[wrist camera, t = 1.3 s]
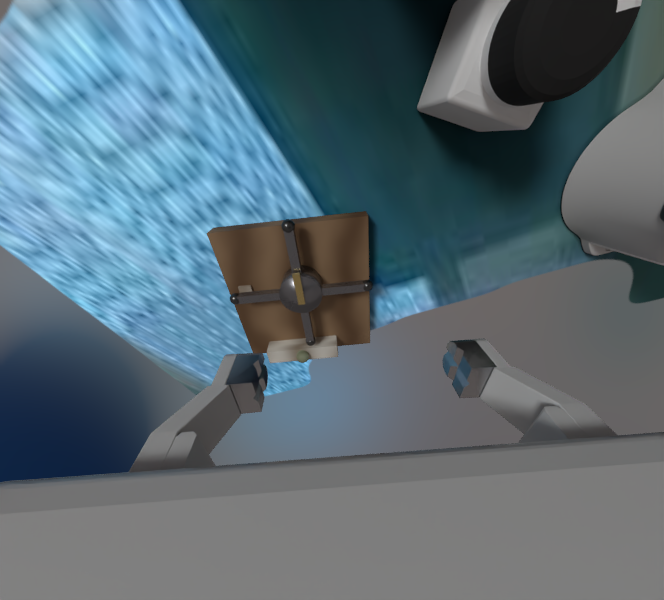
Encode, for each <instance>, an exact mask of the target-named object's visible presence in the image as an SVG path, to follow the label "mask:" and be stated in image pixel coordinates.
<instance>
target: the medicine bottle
mask: <svg viewBox="0 0 664 600" xmlns="http://www.w3.org/2000/svg"><path fill="white" fill-rule="evenodd" d="M641 2H642V0H457V1H456V2H455V3H454V5H453V6H452V9H451V12H450V15H449V17H448V20H447V23H446V26H445V29H444V32H443V34H442V37H441V40H440V43H439V46H438V49H437V52H436V54H435V57H434V60H433V63H432V66H431V69H430V72H429V74H428V77H427V80H426V83H425V86H424V89H423V92H422V94H421V97H420V100H419V103H418V106H417V109H418V111H420V112H423V113H425V114H428V115H431V116H434V117H437V118H440V119H443V120H446V121H448V122H451V123H454V124H457V125H460V126H463V127H466V128H469V129H472V130H474V131H477V132H485V131H505V130H525V129H527V128H529V127H530V125H531V124H532V122H533V120H534V119H535V117H536V115H537V113H538V111H539V110H540V108H541V106H542V104H543V103H544V102H549V101H555V100H559V99H562V98H565V97H567V96H570V95H572V94H574V93H575V92H577V91H579V90H580V89H582V88H583V87H585V86H586V85H587V84H588V83H590V82H591V81H592V80H593V79H594V78H595V77H596V76H597V75H598V74H599V73H600V72H601V71H602V70H603V69H604V68H605V67H606V66H607V65H608V63H609V62H610V61H611V60H612V58H613V57H614V56H615V54H616V53H617V51H618V50H619V49H620V47H621V46H622V44H623V42H624V41H625V39H626V38H627V36H628V34H629V32H630V30H631V28H632V26H633V24H634V22H635V19H636V17H637V14H638V11H639V9H640V6H641Z"/></svg>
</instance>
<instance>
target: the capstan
mask: <svg viewBox="0 0 664 600" xmlns="http://www.w3.org/2000/svg"><path fill="white" fill-rule="evenodd" d="M281 228H282V230H283V232H284V237H285V241H286V246H287V251H288V256H289V260H290V265H291V268H290V269H289V270H287V272H286V273H285V274H284V276H283V280H282V283H281V287H280V289H271V290H261V291H251V292H241V293H234V294H232V295H231V296H230V301H231V303H233V304H236V305H237V304H246V303H256V302H266V301H276V300H281V302H282V304H283V305H284V306H285V307H286V308H287V309H289V310H291V311H293V312H297V313H301V318H302V322H303V327H304V332H305V337H306V344H307V345H309V346H313V345H314V344H315V343H316V339H315V337H314V333H313V327H312V322H311V316H310V311H312V310H314V309H315V308H317V307H318V306H319V304H320V302H321V300H322V296H325V295H335V294H345V293H355V292H365V291H370V290H371V289H372V288H373V283H372V282H371V281H370V280H359V281H349V282H340V283H330V284H322V279H321V276H320V275H319V273H318V272H317V271H316V270H315V269H313V268H311V267H309V266H305V265H301V262H300V256H299V251H298V246H297V240H296V235H295V224H294V222H293V221H292V220H290V219H286V220H284V221H283V222H282V224H281Z"/></svg>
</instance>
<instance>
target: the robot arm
mask: <svg viewBox="0 0 664 600" xmlns="http://www.w3.org/2000/svg"><path fill="white" fill-rule="evenodd" d="M562 215H563V219H564V221H565V223H566V225H567V226H568V228H569V229H570V230H571V231H573V232H574V233H575V234H577V235H578V236H579V237H580V239H581V243H582V247H583V250H584V251H585V252H586V253H588V254H591V255H601V254H605V253H609V252H613V251H616V252H620V253H623V254H626V255H629V256H633V257H636V258H639V259H643V260H646V261H649V262H653V263H656V264H659V265H664V79H663V80H662V81H661V82H660V83H659V84H658V85H657V86H656V87H655V88H654V89H653V90H652V91H651V92H650V93H649V94H648V95H647V96H645V97H644V98H643V99H641V100H640V101H638V102H637V103H635V104H634V105H632V106H631V107H630V108H628V109H627V110H625V111H624V112H623V113H621V114H620V115H619V116H617V117H616V118H615V119H614V120H613V121H611V122H610V123H609V124H608V125H607V126H606V127H605V128H604V129H603V130H602V131H601V132H600V133H599V134H598V135H597V136H596V137H595V138H594V139H593V140H592V142H591V143H590V144H589V145H588V147H587V148H586V149H585V150H584V152H583V153H582V155H581V156H580V158H579V159H578V161H577V162H576V164H575V166H574V167H573V169H572V171H571V173H570V175H569V178H568V180H567V182H566V185H565V188H564V192H563V197H562ZM447 350H448V352H447V353H446V354H445V355H444V358H443V368H444V370H445V372H446V374H447V376H448V377H449V378H451V379H452V380H453V383H452V385H453V387H454V389H455V391H456V392H457V394H458V396H459V398H472V397H480V399H481V400H483V401H484V402H485V403H486V404H488V405H489V406H490V407H491V408H493V409H494V410H495V411H496V412H497V413H499V414H500V415H501V416H503V417H504V418H505V419H506V420H507V421H509V422H510V423H511V424H512V425H514V426H515V427H516V428H517V429H519V430H520V431H521V432H522V433H524V436H523V437H522V438H521V440H520V441H519V443H512V444H500V445H487V446H473V447H460V448H446V449H433V450H419V451H406V452H394V453H380V454H367V455H354V456H341V457H328V458H315V459H301V460H288V461H275V462H262V463H248V464H235V465H222V466H215V464H214V462H213V461H212V459H211V458H210V456H209V454H210V453H211V451H212V450H213V449H214V448H215V446H216V445H217V444H218V443H219V441H220V440H221V439H222V437H223V436H224V435H225V434H226V433H227V431H228V430H229V429H230V428H231V426H232V425H233V424H234V423H235V421H236V420H237V419H238V418H239V417H240V415H241V414H243V413H253V412H261V411H262V407H263V402H264V394H263V391H264V390H265V389H266V387H267V380H268V374H267V368H266V366H265V365H264V364H263V363H264V356H263V354H262V353H247V354H227V355H225V356H224V358H223V360H222V362H221V365H220V367H219V369H218V371H217V374H216V376H215V378H214V381H213V383H212V385H211V386H207V387H206V388H205V389H204V390H203V391H201V392H200V393H199V394H198V395H197V396H195V397H194V398H193V399H192V400H191V401H189V402H188V403H187V404H186V405H184V406H183V407H182V408H181V409H180V410H178V411H177V412H176V413H175V414H174V415H173V416H171V417H170V418H169V419H168V420H166V421H165V422H164V423H163V424H162V425H160V426H159V427H158V428H157V429H156V430H154V431H153V432H152V433H151V434H150V436H149V438H148V440H147V441H146V443H145V445H144V447H143V448H142V450H141V452H140V453H139V455H138V457H137V459H136V460H135V462H134V464H133V466H132V467H131V469H130V471H129V472H128V473H115V474H101V475H88V476H76V477H75V476H74V477H61V478H48V479H34V480H18V481H7V482H1V483H0V600H664V432H658V433H646V434H645V433H644V434H631V435H617V434H616V433H615V432H614V431H612V430H611V429H610V428H609V427H608V426H607V425H606V424H605V423H604V422H603V421H602V420H601V419H600V418H599V417H598V416H597V415H596V414H595V413H594V412H593V411H592V410H591V409H590V408H589V407H588V406H587V405H586V404H584V403H583V402H581V401H579V400H577V399H576V398H574V397H572V396H570V395H568V394H566V393H564V392H562V391H560V390H558V389H557V388H555V387H553V386H551V385H549V384H547V383H545V382H543V381H541V380H539V379H538V378H536V377H533V376H532V375H530V374H528V373H526V372H524V371H522V370H520V369H518V368H517V367H514V366H510V365H509V364H508V363H507V362H506V361H505V360H504V358H503V357H502V356H501V355H500V354H499V353H498V352H497V351H496V349H495V348H494V347H493V346H492V345H491V344H490V342H489V341H488V340H486V339H473V340H458V341H450V342H449V343H448V344H447Z"/></svg>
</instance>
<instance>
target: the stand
mask: <svg viewBox="0 0 664 600" xmlns="http://www.w3.org/2000/svg"><path fill="white" fill-rule="evenodd" d="M291 220H292V221H293V222H294V224H295V235H296V240H297V246H298V251H299V256H300V262H301V265H305V266H309V267H311V268H313V269H315V270H316V271H317V272H318V273H319V275H320V276H321V279H322V284H330V283H340V282H349V281H359V280H369V237H368V215H367V213H366V211H364V212H355V213H346V214H337V215H327V216H318V217H309V218H300V219H291ZM283 221H284V220H281V221H272V222H263V223H254V224H245V225H236V226H226V227H217V228H213V229H212V230H210V231H209V232H208V233H207V235H208V238H209V240H210V243H211V245H212V248H213V251H214V253H215V256H216V258H217V261H218V263H219V266H220V269H221V271H222V274H223V276H224V279H225V282H226V284H227V287H228V289H229V292H230V294H231V295H232V294H234V293H241V292H251V291H261V290H271V289H280V287H281V283H282V280H283V276H284V274H285V273H286V272H287V270H289V269H290V268H291V265H290V260H289V256H288V251H287V246H286V241H285V237H284V232H283V230H282V228H281V224H282V222H283ZM234 305H235V307H236V310H237V312H238V315H239V318H240V320H241V323H242V325H243V328H244V331H245V333H246V336H247V338H248V341H249V343H250V346H251V349H252V351H253V353H267V355H268V358H269V361H270V363H277V362H287V361H299V362H301V363H304V362H306V361H307V360H308V359H319V358H330V357H338V348H337V346H342V345H353V344H363V343H370V306H369V291H365V292H355V293H345V294H335V295H325V296H322V300H321V302H320V304H319V306H318V307H317V308H315V309H314V310H312V311H310V316H311V322H312V327H313V333H314V337H315V339H316V343H315V344H314V345H313V346H309V345H307V344H306V337H305V332H304V327H303V322H302V318H301V313H297V312H293V311H291V310H289V309H287V308H286V307H285V306H284V305H283V304H282V302H281V300H276V301H266V302H256V303H246V304H237V305H236V304H234Z"/></svg>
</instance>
